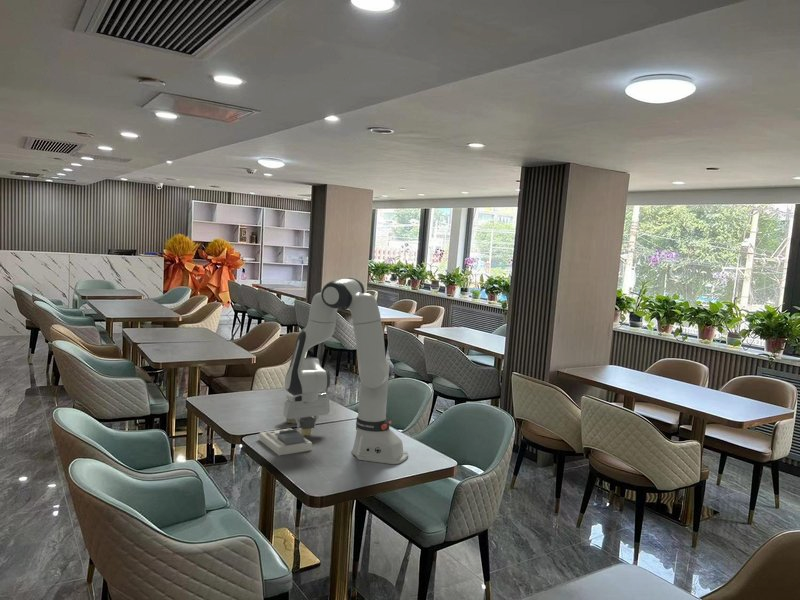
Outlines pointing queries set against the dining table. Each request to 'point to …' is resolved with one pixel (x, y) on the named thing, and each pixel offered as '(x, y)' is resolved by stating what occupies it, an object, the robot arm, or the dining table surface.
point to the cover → (290, 436)
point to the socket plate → (279, 447)
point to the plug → (307, 425)
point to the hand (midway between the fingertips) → (306, 426)
